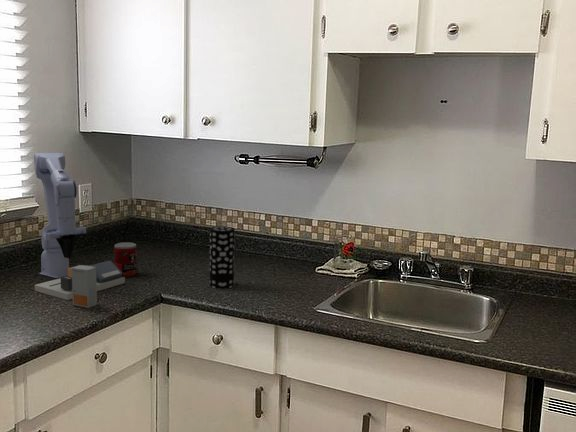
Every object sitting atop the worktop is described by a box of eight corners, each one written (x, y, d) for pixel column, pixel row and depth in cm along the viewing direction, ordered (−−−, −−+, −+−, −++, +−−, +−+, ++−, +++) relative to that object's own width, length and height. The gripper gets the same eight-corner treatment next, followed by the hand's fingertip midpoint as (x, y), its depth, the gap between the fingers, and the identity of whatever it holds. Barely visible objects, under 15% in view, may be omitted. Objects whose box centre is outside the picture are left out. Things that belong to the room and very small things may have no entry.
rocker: (88, 268, 209) (89, 265, 208) (108, 263, 217) (110, 260, 216) (100, 281, 207) (102, 278, 206) (121, 276, 214) (122, 272, 213)
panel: (34, 290, 202) (34, 279, 201) (93, 275, 222) (92, 264, 221) (67, 300, 193) (67, 288, 193) (125, 282, 214) (124, 272, 213)
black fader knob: (60, 288, 197) (60, 277, 197) (67, 286, 199) (67, 275, 199) (68, 290, 195) (67, 279, 195) (74, 288, 197) (74, 277, 197)
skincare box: (72, 305, 188) (70, 267, 186) (81, 301, 192) (80, 264, 190) (88, 308, 186) (87, 270, 184) (97, 304, 190) (96, 266, 188)
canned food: (124, 278, 219) (123, 248, 217) (110, 274, 224) (109, 244, 222) (141, 274, 225) (141, 244, 223) (127, 270, 230) (126, 241, 228)
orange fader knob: (67, 278, 208) (67, 268, 208) (73, 276, 210) (73, 266, 210) (74, 280, 207) (74, 269, 206) (80, 278, 209) (80, 268, 208)
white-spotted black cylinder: (220, 280, 220) (221, 225, 216) (238, 285, 215) (239, 228, 212) (204, 285, 213) (204, 228, 210) (222, 290, 209) (223, 232, 205)
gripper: (55, 221, 196) (57, 263, 198) (91, 215, 208) (92, 255, 210) (41, 219, 199) (42, 260, 202) (77, 213, 212) (78, 252, 214)
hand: (67, 257), depth 206 cm, fingers closed
